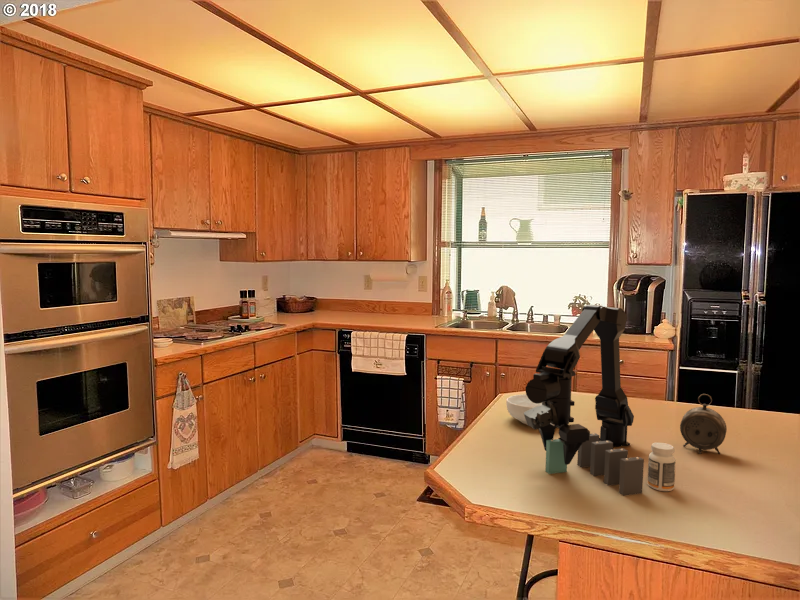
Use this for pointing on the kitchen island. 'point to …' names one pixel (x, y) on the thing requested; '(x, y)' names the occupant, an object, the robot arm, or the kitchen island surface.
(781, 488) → the kitchen island surface
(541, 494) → the kitchen island surface
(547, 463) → the domino
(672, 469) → the pill bottle
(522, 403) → the cereal bowl
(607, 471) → the domino
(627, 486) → the domino
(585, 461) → the domino
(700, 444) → the alarm clock
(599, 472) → the domino
